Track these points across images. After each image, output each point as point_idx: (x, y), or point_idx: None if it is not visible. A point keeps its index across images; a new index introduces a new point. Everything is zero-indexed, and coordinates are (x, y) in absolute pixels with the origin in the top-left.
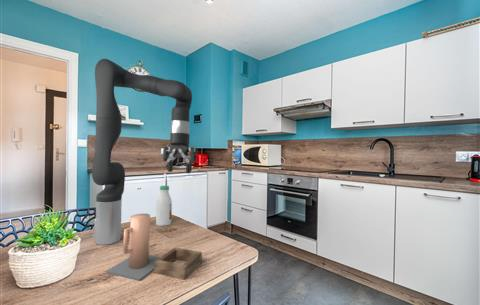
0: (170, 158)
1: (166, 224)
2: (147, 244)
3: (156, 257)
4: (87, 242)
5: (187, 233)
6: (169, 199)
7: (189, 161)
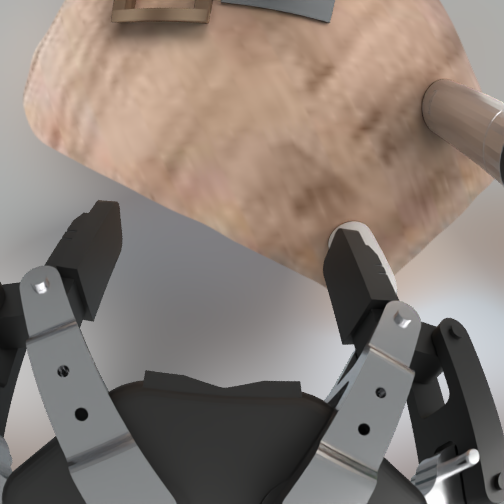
0: (376, 350)
1: (337, 229)
2: None
3: (256, 1)
4: None
5: (244, 183)
6: None
7: (20, 287)
